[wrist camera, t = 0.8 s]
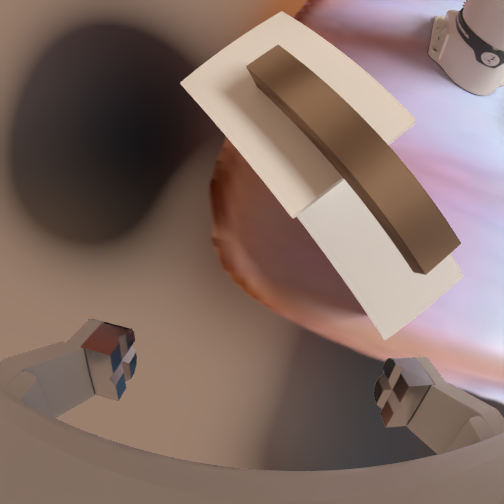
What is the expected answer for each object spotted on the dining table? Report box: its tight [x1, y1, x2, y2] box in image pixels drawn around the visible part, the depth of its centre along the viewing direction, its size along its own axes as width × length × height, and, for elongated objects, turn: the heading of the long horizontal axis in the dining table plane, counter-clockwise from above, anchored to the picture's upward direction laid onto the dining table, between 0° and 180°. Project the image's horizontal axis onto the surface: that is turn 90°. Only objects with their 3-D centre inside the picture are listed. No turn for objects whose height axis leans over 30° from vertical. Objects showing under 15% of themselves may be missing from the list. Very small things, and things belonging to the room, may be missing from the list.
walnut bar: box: [246, 45, 461, 275], centre depth 17 cm, size 18×3×3 cm, turn 36°
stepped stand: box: [180, 11, 464, 340], centre depth 32 cm, size 31×12×28 cm, turn 36°
